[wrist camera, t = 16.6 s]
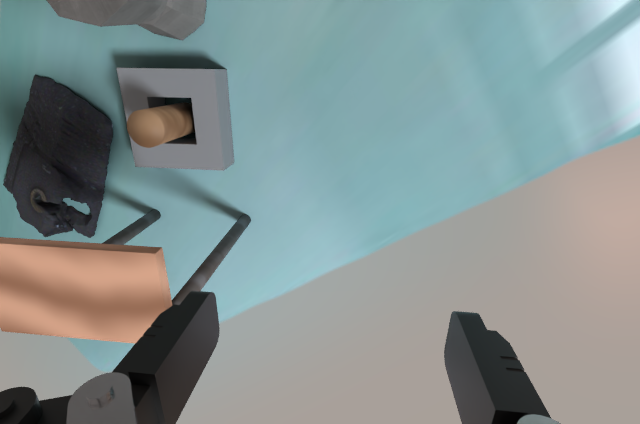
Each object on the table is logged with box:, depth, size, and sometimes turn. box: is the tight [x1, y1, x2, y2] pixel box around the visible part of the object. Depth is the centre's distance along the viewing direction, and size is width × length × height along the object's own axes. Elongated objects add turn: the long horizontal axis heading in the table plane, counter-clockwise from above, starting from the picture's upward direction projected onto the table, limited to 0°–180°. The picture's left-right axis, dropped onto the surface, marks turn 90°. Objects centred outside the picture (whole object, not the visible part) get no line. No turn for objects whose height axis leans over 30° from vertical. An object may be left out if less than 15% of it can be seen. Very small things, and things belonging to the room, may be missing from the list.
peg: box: [127, 102, 195, 148], centre depth 42 cm, size 4×4×10 cm
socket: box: [117, 68, 234, 170], centre depth 44 cm, size 12×12×4 cm
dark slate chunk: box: [3, 75, 113, 238], centre depth 49 cm, size 15×22×5 cm
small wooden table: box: [0, 210, 251, 343], centre depth 40 cm, size 9×16×24 cm, turn 89°
